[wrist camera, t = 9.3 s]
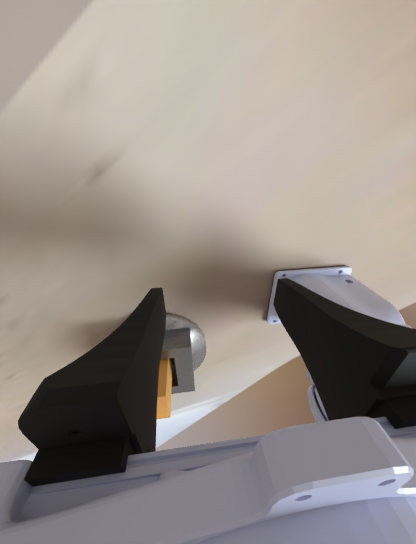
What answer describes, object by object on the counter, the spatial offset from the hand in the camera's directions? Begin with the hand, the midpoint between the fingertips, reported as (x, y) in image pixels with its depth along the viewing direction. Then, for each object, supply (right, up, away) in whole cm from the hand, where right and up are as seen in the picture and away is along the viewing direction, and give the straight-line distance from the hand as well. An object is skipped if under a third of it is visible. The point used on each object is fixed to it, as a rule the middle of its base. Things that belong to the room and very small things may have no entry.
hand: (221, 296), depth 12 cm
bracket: (-7, -9, +15) cm, 19 cm away
